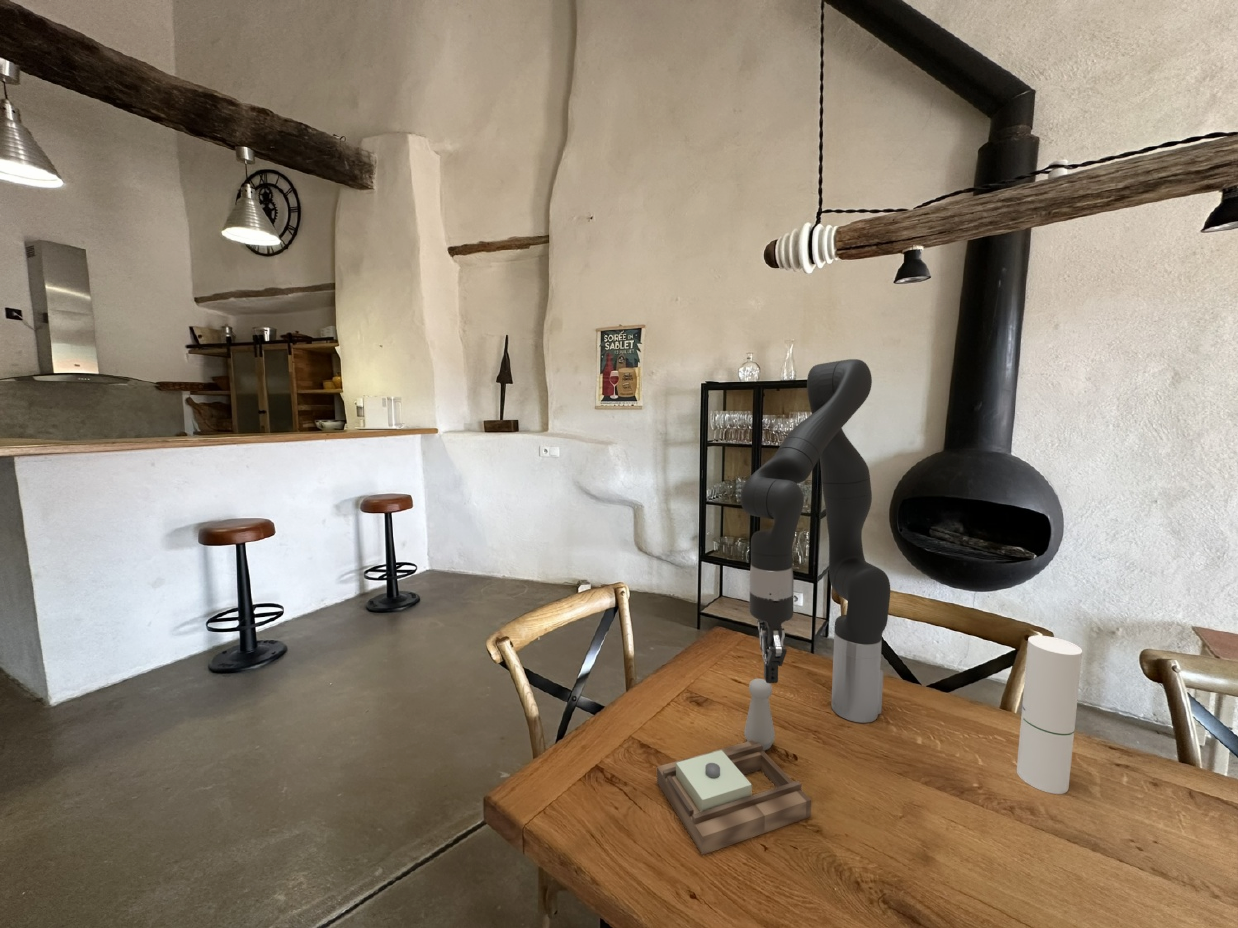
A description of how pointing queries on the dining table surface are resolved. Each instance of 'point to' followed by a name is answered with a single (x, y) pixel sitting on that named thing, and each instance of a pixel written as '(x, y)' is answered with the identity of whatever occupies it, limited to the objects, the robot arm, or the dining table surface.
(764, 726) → the salt shaker
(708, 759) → the cover
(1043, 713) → the cylindrical container
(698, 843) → the board
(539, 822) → the dining table surface
